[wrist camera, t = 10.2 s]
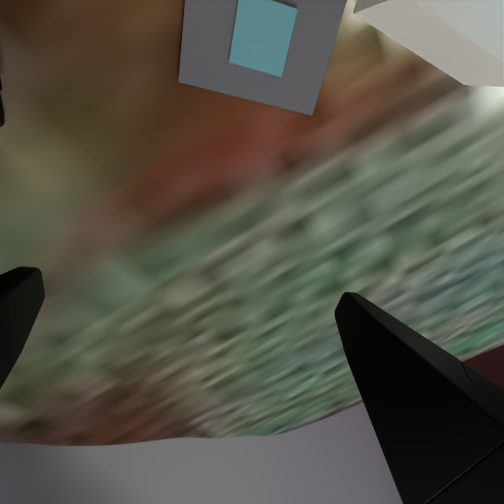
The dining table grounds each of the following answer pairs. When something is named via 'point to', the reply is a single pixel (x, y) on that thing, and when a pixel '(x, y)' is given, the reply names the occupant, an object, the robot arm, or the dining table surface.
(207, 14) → the card
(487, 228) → the dining table surface
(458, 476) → the robot arm
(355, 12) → the white block
